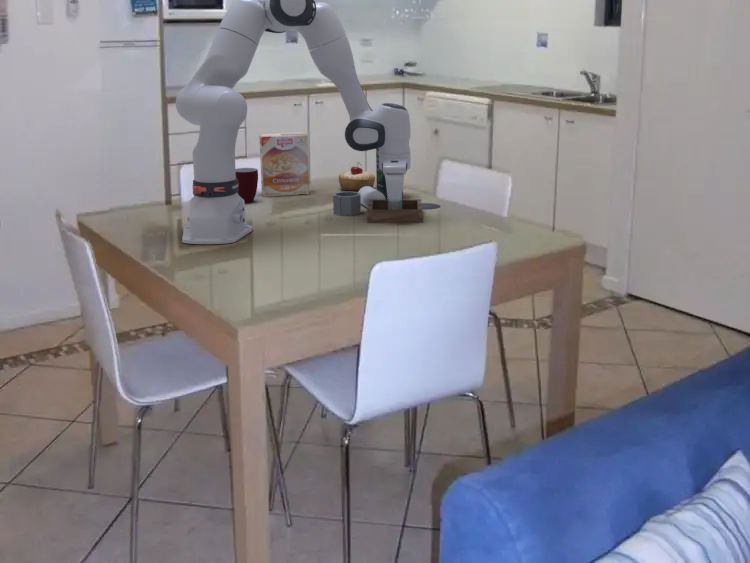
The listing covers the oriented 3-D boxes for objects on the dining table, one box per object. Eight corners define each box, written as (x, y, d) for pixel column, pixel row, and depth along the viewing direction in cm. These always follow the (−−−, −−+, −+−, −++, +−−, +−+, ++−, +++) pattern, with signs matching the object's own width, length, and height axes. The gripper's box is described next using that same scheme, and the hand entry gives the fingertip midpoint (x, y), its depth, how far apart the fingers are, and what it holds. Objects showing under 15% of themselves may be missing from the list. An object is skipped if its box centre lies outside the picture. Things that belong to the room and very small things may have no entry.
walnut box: (422, 224, 254) (422, 210, 253) (367, 224, 255) (367, 210, 254) (421, 212, 269) (421, 199, 268) (369, 213, 269) (369, 199, 268)
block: (402, 218, 260) (402, 200, 258) (387, 218, 260) (387, 200, 258) (402, 215, 263) (402, 197, 262) (388, 215, 264) (388, 197, 262)
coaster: (441, 211, 270) (441, 209, 270) (410, 211, 271) (410, 209, 271) (439, 205, 279) (439, 203, 279) (410, 205, 279) (410, 203, 279)
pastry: (334, 192, 301) (333, 165, 299) (345, 185, 312) (344, 159, 310) (369, 193, 298) (368, 166, 296) (379, 187, 309) (378, 160, 306)
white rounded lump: (388, 194, 272) (370, 188, 270) (381, 213, 273) (363, 207, 271) (378, 189, 280) (361, 183, 278) (371, 208, 281) (354, 202, 279)
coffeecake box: (263, 197, 294) (260, 136, 289) (261, 193, 301) (258, 133, 295) (309, 194, 297) (307, 134, 292) (306, 190, 304) (304, 131, 299)
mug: (221, 203, 286) (219, 171, 283) (233, 198, 293) (231, 167, 290) (252, 204, 283) (251, 172, 280) (263, 199, 290) (261, 168, 287)
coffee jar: (374, 194, 296) (373, 136, 291) (397, 193, 298) (397, 135, 293) (380, 200, 287) (380, 140, 282) (405, 198, 289) (405, 139, 283)
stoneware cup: (360, 217, 264) (359, 196, 262) (333, 217, 264) (332, 196, 263) (361, 211, 272) (360, 191, 270) (334, 211, 272) (334, 191, 270)
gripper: (384, 156, 267) (384, 203, 271) (382, 168, 248) (383, 218, 252) (405, 156, 267) (405, 203, 271) (406, 168, 247) (406, 218, 251)
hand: (394, 210), depth 261 cm, fingers closed on block, 4 cm apart
